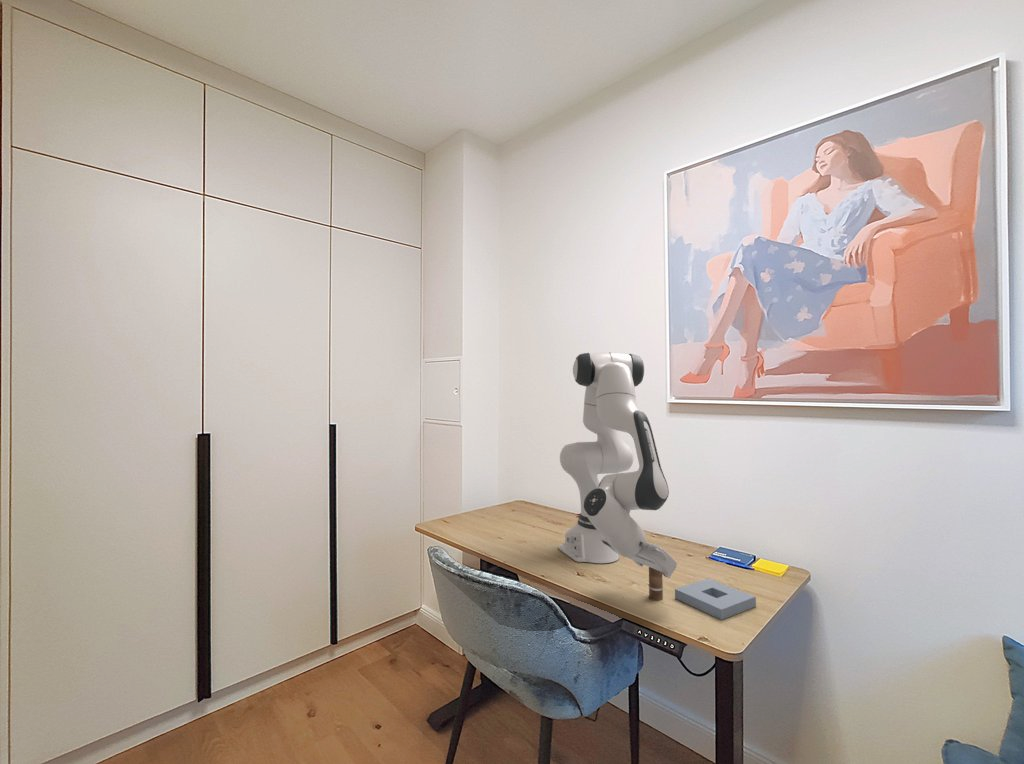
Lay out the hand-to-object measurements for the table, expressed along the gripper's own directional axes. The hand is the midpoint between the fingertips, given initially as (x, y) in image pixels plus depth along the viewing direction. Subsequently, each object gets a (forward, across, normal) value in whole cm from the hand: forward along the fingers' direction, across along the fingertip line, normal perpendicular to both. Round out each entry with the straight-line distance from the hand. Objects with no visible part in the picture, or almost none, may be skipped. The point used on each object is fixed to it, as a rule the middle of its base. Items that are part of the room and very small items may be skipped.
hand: (654, 569), depth 125 cm
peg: (+6, 0, +5) cm, 8 cm away
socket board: (+14, -10, -3) cm, 17 cm away
